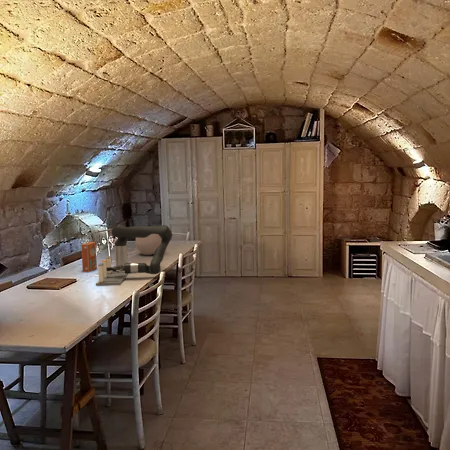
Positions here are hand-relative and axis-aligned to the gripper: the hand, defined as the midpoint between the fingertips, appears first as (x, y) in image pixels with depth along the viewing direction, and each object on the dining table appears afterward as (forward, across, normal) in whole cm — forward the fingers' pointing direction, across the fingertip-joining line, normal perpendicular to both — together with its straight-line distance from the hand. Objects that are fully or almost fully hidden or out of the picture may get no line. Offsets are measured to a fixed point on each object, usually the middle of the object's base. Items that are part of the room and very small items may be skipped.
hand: (106, 269), depth 300 cm
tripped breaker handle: (+1, 0, -5) cm, 6 cm away
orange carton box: (+20, +32, -7) cm, 39 cm away
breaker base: (-4, 0, -7) cm, 8 cm away
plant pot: (-21, +93, -8) cm, 96 cm away
